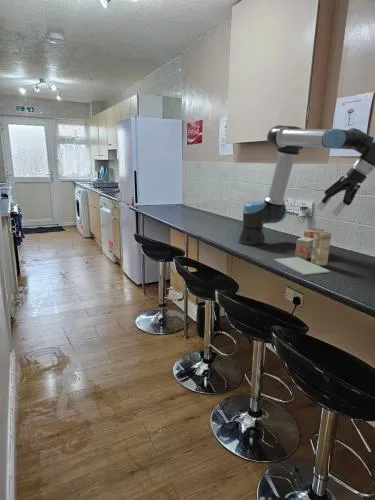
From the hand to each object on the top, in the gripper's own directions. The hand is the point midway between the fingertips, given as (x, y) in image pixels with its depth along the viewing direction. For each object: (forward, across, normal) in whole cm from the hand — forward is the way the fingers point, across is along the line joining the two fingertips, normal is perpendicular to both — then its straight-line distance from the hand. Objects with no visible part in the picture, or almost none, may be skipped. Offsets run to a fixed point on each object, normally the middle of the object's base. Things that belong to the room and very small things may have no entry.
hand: (326, 211), depth 149 cm
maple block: (+21, +2, -13) cm, 24 cm away
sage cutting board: (+24, -7, -11) cm, 27 cm away
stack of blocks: (+24, +13, 0) cm, 28 cm away
